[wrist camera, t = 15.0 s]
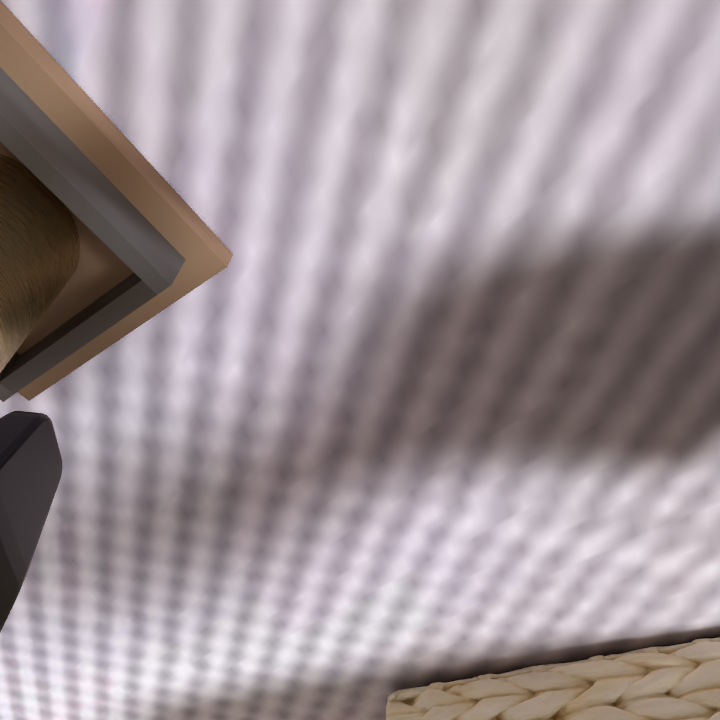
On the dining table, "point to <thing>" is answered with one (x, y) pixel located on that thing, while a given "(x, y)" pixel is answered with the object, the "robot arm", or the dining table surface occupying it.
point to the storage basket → (581, 689)
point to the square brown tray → (93, 217)
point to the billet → (30, 253)
